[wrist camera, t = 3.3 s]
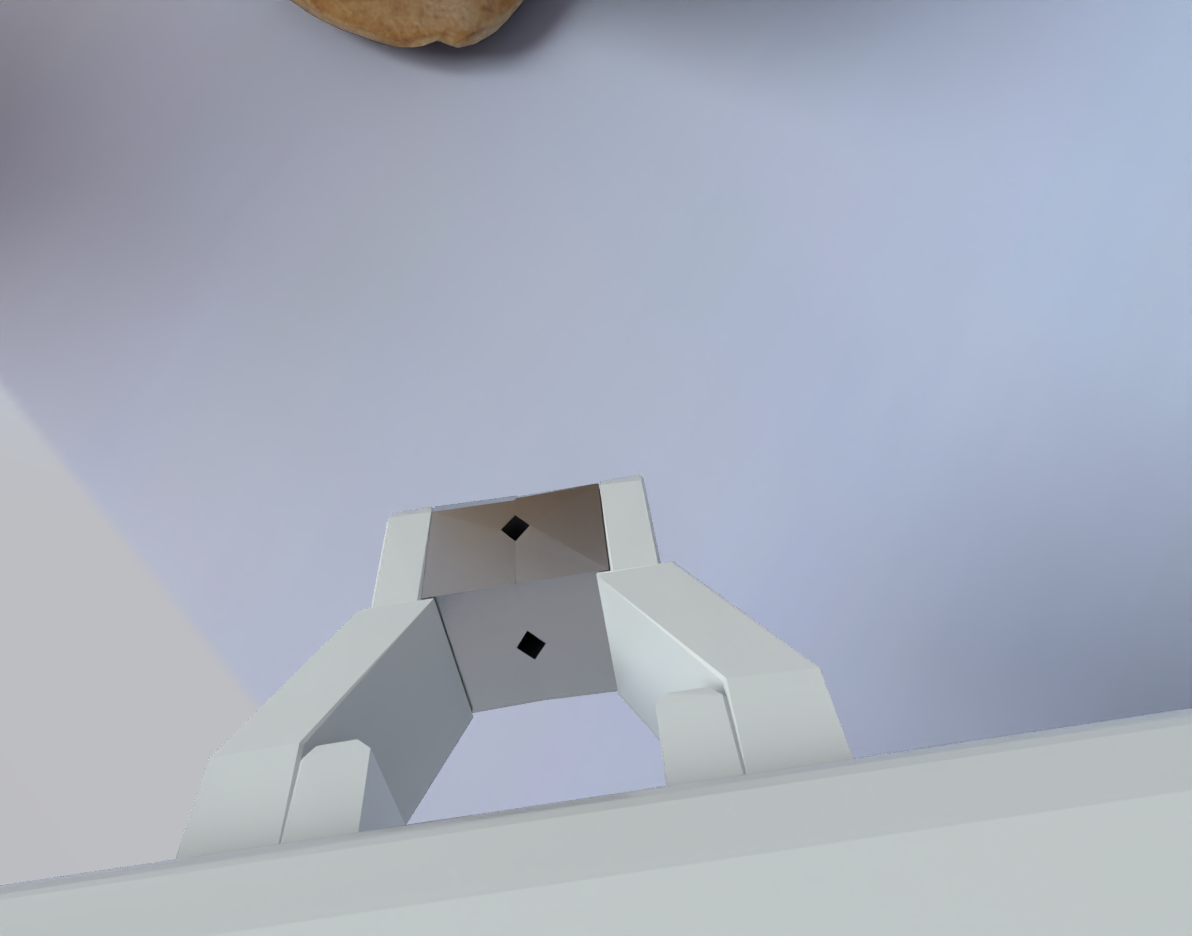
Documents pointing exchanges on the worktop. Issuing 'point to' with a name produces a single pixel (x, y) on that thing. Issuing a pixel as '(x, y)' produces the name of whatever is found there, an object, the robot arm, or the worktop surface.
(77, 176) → the worktop surface
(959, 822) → the robot arm
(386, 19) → the brown boot
